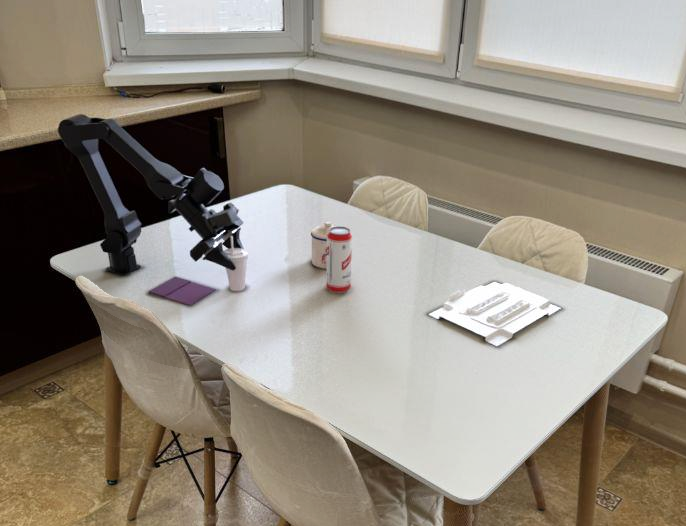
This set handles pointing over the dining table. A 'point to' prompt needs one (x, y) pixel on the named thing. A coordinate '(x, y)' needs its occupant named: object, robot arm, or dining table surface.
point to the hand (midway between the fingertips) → (240, 264)
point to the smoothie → (237, 267)
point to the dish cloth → (182, 291)
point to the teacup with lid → (320, 245)
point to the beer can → (339, 259)
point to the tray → (495, 310)
